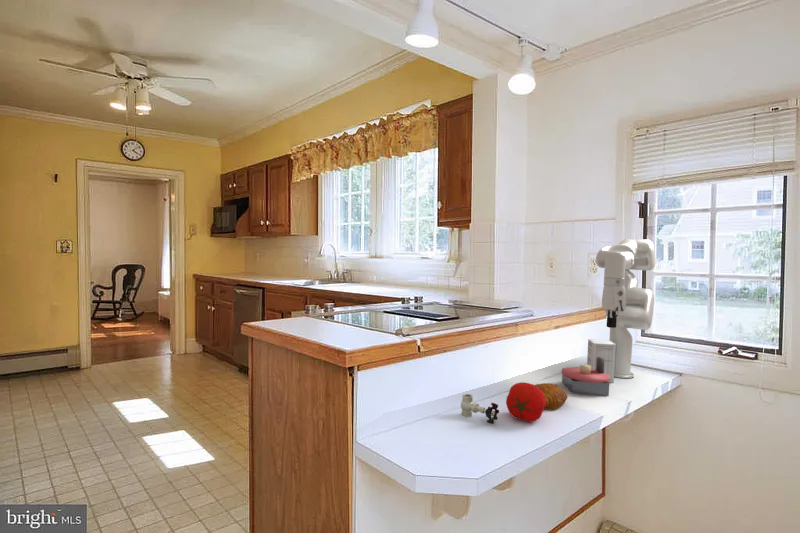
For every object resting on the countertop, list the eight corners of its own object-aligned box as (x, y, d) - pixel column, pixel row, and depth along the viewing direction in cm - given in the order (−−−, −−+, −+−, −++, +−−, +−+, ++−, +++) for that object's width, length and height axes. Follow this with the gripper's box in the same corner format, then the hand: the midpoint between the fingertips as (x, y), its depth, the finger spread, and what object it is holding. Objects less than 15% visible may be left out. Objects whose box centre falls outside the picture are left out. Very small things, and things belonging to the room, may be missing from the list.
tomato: (525, 420, 154) (512, 433, 143) (507, 385, 157) (492, 396, 146) (558, 407, 148) (547, 420, 137) (538, 371, 151) (526, 381, 140)
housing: (561, 382, 190) (562, 371, 190) (595, 385, 189) (596, 373, 189) (571, 393, 176) (572, 380, 176) (608, 395, 175) (609, 383, 175)
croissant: (571, 409, 165) (574, 387, 165) (555, 413, 153) (559, 390, 153) (533, 398, 174) (536, 377, 175) (516, 401, 162) (519, 379, 163)
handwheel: (580, 383, 171) (581, 364, 171) (552, 370, 189) (553, 353, 188) (619, 381, 176) (621, 363, 176) (588, 369, 193) (589, 352, 193)
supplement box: (607, 377, 202) (610, 340, 202) (614, 383, 193) (616, 344, 193) (585, 375, 204) (587, 338, 203) (591, 381, 195) (593, 342, 194)
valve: (455, 416, 147) (488, 426, 139) (456, 396, 146) (489, 405, 139) (466, 411, 152) (498, 421, 144) (467, 391, 151) (499, 401, 144)
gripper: (633, 284, 174) (631, 331, 176) (612, 280, 189) (610, 323, 191) (615, 284, 174) (612, 331, 175) (595, 280, 189) (593, 323, 190)
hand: (611, 327), depth 183 cm, fingers closed
